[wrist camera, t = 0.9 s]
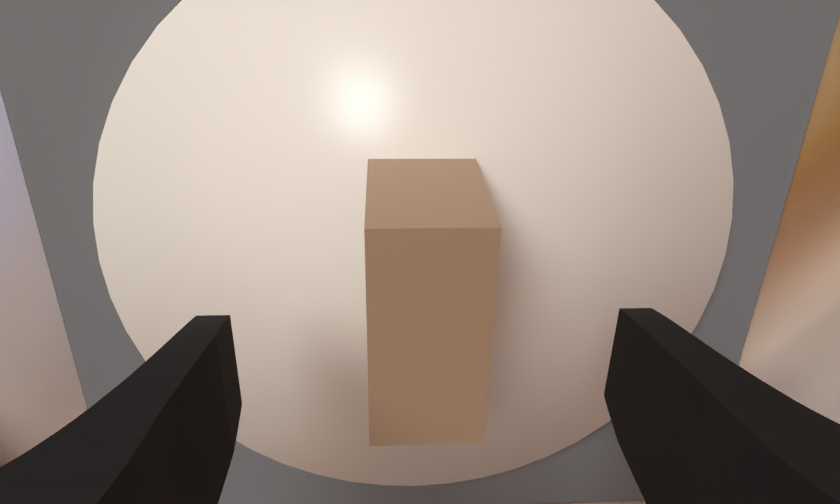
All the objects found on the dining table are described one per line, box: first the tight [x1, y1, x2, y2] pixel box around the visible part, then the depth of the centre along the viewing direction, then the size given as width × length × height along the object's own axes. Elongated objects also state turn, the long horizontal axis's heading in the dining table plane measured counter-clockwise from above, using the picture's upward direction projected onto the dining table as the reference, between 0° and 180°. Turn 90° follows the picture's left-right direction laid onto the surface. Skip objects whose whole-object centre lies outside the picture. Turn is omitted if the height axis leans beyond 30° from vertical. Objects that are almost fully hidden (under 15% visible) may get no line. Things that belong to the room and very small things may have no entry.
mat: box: [0, 0, 840, 504], centre depth 17 cm, size 18×18×1 cm
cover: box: [93, 0, 734, 486], centre depth 15 cm, size 15×15×4 cm
